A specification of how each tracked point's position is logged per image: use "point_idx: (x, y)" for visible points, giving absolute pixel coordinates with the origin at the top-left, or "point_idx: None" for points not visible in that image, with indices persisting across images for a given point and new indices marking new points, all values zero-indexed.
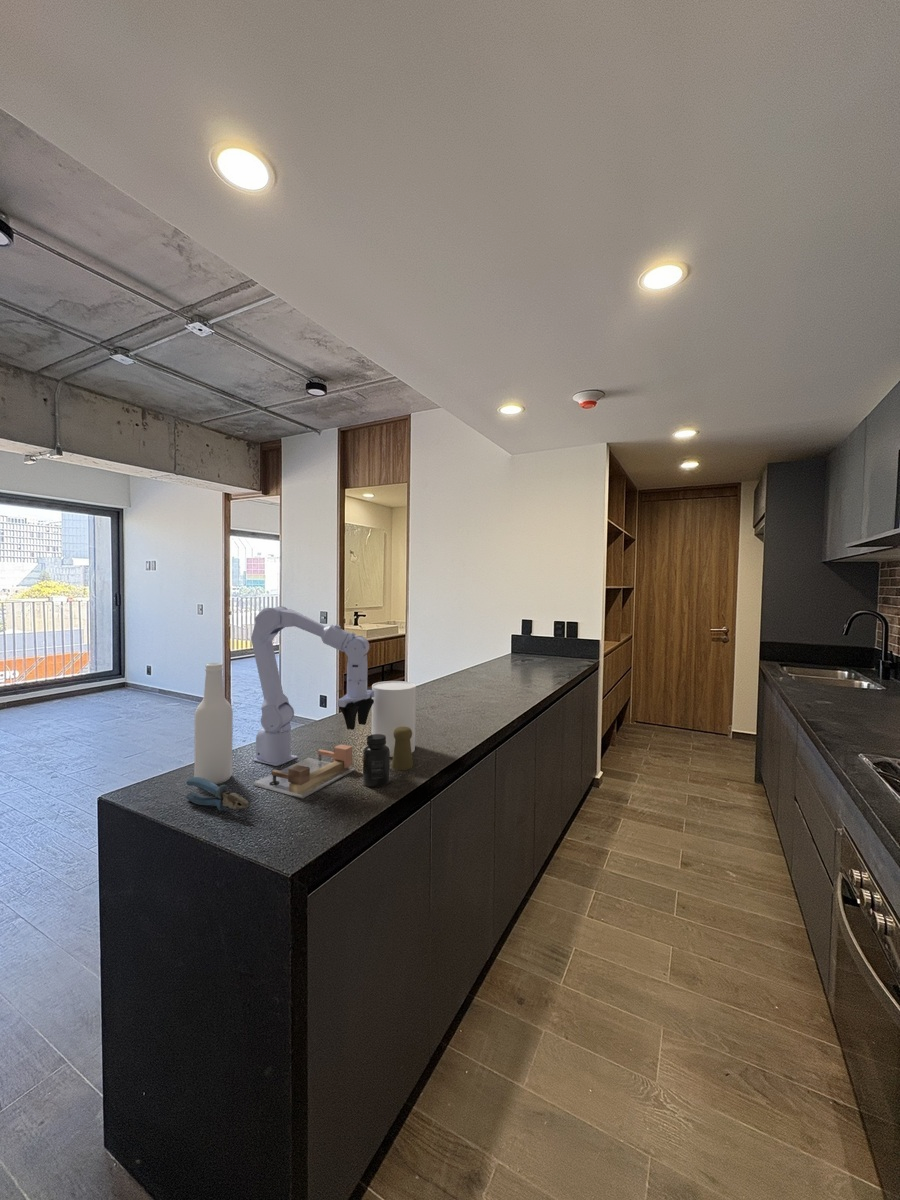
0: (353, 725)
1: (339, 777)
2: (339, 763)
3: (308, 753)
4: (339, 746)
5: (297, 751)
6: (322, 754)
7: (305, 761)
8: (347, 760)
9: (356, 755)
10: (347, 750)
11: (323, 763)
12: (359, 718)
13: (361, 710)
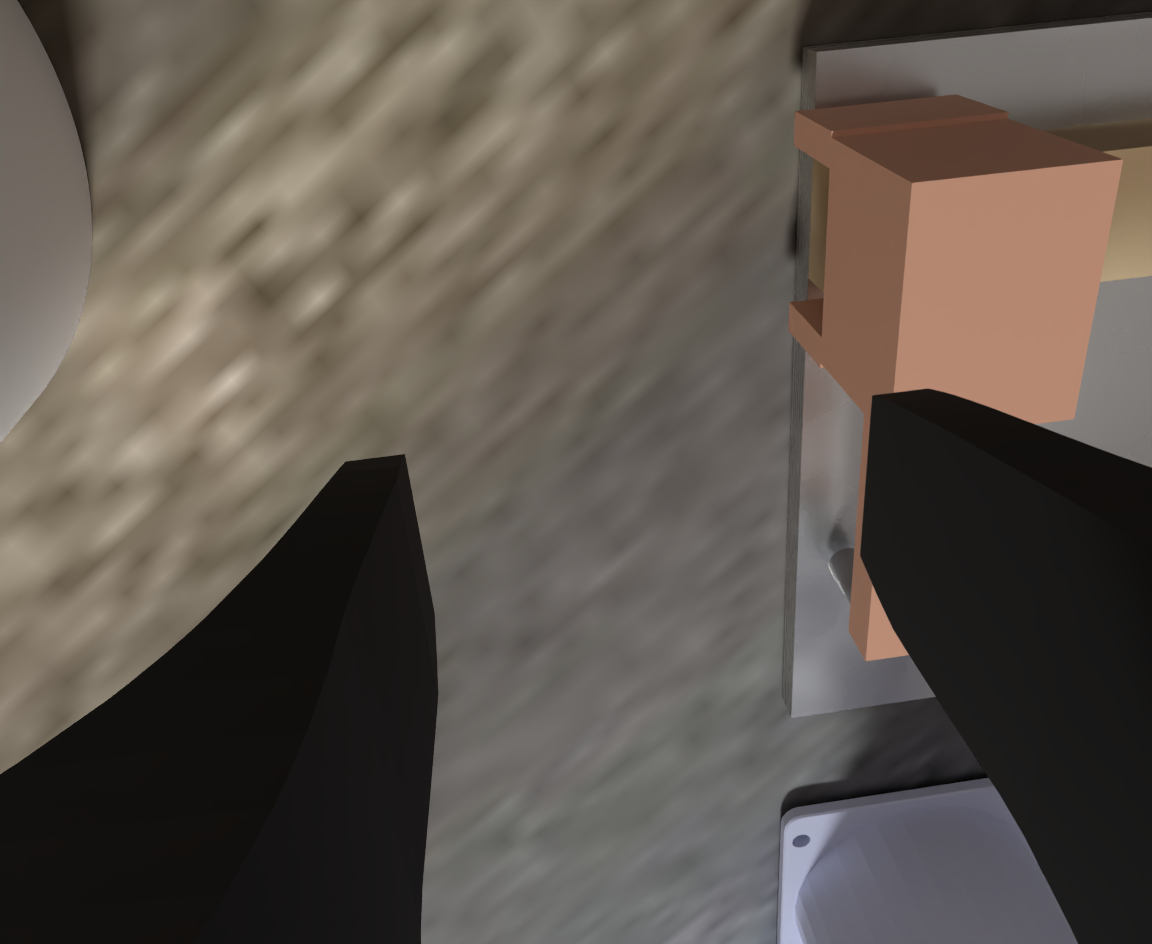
0: (1010, 415)
1: (1131, 14)
2: None
3: (622, 828)
4: (999, 377)
5: (637, 920)
6: None
7: (898, 664)
8: (958, 121)
9: (332, 424)
10: (1049, 158)
11: None
12: (422, 703)
13: (386, 876)
